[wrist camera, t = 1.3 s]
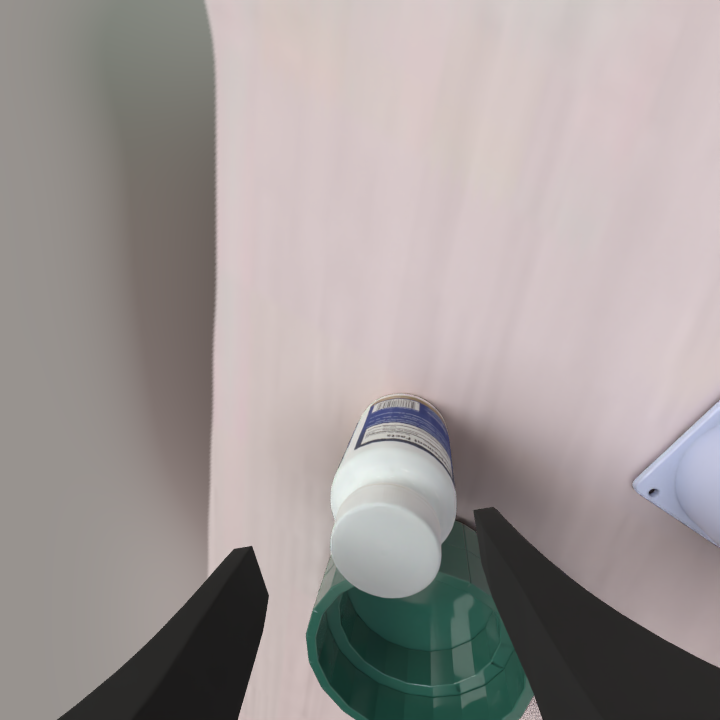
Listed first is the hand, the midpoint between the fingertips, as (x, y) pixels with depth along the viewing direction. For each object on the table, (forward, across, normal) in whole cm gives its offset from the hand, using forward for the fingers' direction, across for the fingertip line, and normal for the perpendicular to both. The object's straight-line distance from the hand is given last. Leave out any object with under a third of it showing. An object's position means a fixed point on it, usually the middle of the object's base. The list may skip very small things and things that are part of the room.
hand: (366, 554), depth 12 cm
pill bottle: (+11, -2, +2) cm, 11 cm away
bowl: (+10, -1, +12) cm, 16 cm away
